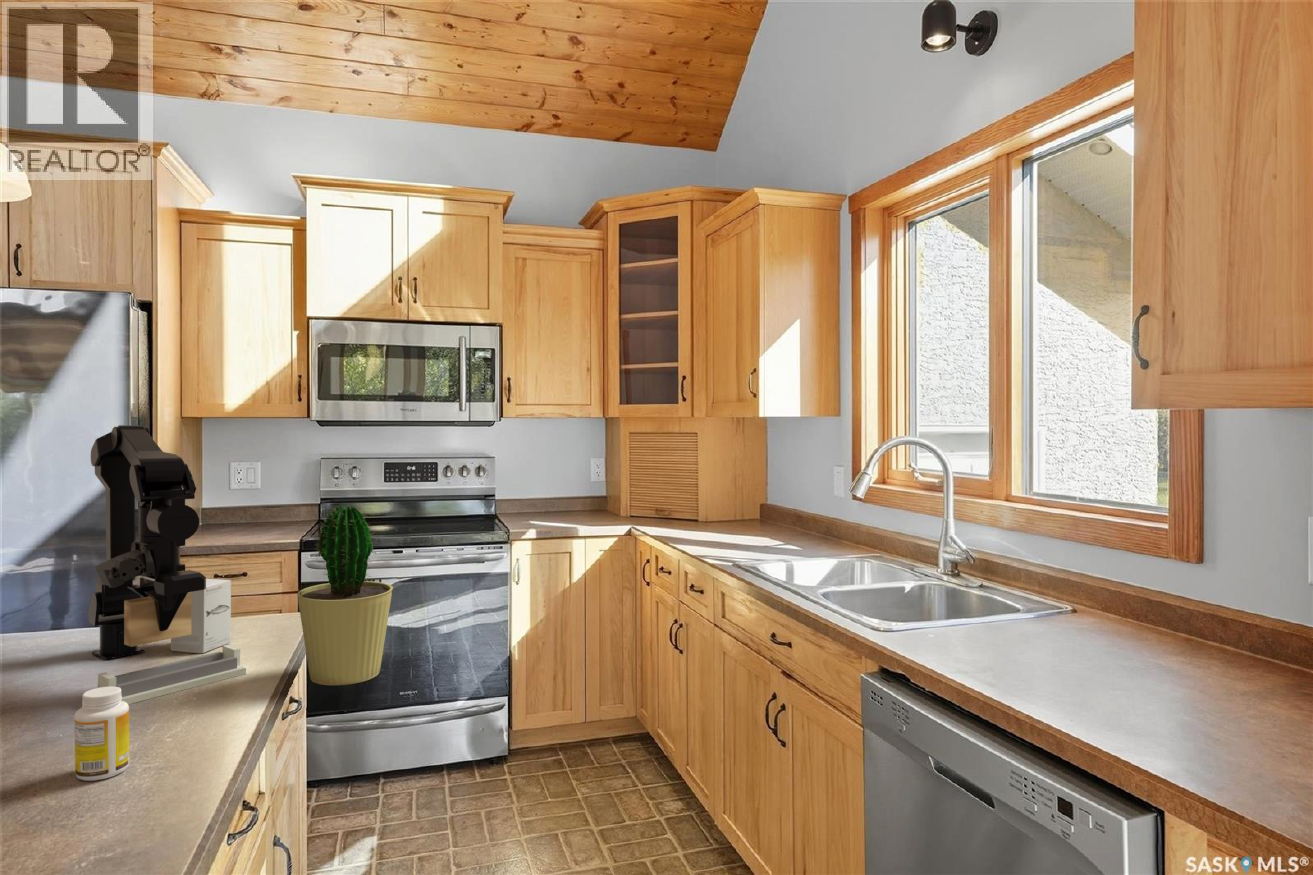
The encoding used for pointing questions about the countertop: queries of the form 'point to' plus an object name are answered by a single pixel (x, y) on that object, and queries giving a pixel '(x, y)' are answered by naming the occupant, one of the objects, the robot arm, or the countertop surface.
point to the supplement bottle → (101, 734)
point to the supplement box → (208, 619)
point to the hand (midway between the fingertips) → (159, 629)
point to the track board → (175, 675)
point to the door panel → (153, 621)
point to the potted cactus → (345, 605)
